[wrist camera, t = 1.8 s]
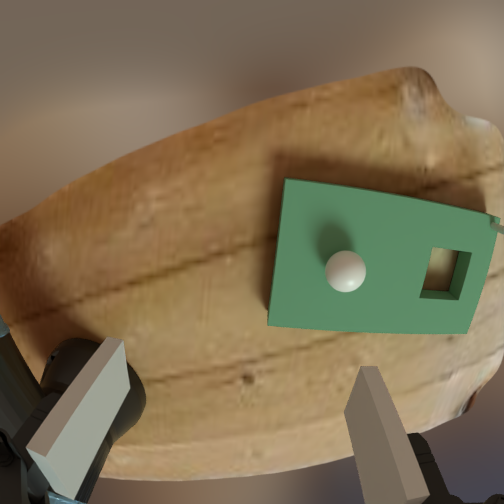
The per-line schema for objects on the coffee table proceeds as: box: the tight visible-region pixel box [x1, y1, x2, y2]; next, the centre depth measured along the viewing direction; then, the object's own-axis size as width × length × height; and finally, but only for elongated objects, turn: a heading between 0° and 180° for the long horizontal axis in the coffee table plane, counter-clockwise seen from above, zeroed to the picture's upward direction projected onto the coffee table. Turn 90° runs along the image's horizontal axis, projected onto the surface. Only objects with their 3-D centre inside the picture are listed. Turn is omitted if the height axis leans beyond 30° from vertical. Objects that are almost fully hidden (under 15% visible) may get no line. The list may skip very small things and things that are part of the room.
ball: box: [325, 250, 366, 292], centre depth 27 cm, size 4×4×4 cm
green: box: [268, 177, 500, 334], centre depth 30 cm, size 24×14×2 cm, turn 85°
